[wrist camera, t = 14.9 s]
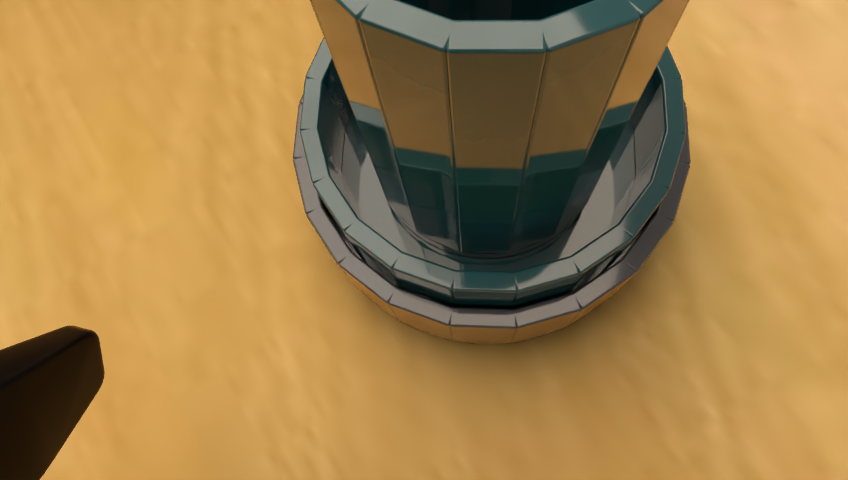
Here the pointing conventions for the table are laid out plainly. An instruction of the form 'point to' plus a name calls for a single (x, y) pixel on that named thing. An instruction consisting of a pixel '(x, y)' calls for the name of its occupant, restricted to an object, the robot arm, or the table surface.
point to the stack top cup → (506, 276)
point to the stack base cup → (482, 321)
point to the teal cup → (493, 106)
